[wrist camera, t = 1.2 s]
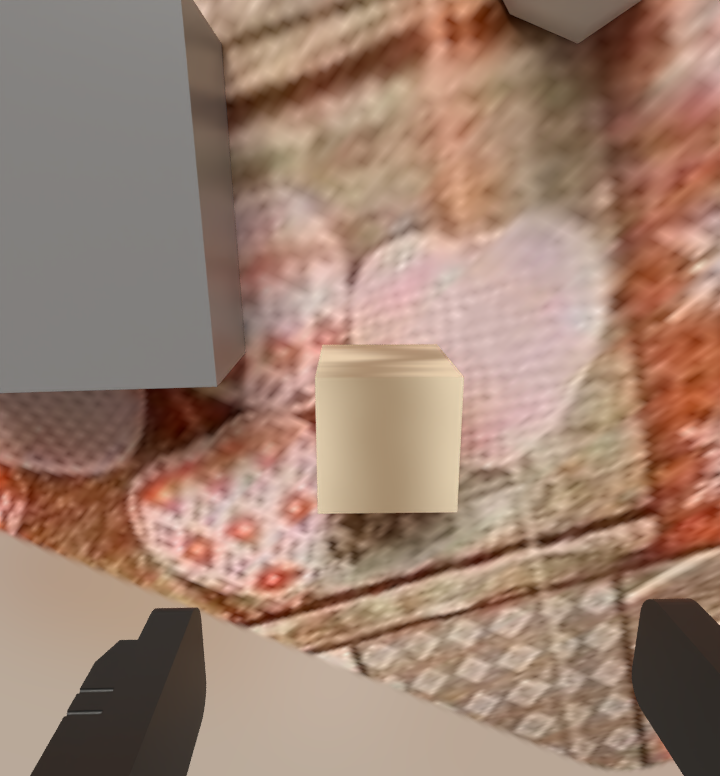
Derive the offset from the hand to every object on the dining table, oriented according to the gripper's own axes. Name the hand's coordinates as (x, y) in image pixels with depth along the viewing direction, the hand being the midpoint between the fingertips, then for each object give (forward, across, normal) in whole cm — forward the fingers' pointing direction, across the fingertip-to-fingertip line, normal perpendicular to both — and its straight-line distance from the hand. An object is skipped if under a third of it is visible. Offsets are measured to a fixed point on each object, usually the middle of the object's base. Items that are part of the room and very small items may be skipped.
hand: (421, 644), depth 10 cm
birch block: (+16, 0, 0) cm, 16 cm away
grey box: (+16, +12, -8) cm, 22 cm away
